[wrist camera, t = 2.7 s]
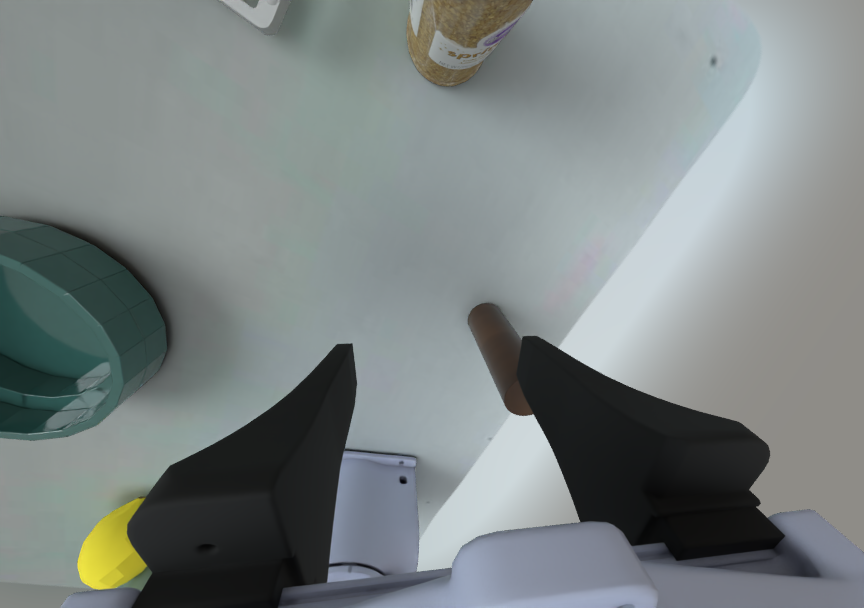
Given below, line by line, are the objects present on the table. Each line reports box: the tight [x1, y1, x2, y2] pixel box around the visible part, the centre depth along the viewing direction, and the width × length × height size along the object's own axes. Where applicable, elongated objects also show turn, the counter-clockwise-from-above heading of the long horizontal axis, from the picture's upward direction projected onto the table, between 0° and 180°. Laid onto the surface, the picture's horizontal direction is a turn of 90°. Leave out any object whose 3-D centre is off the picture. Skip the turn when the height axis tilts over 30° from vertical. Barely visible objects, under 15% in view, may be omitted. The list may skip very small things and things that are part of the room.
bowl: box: [0, 216, 167, 441], centre depth 19 cm, size 13×13×4 cm
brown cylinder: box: [468, 303, 533, 416], centre depth 20 cm, size 3×3×9 cm
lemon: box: [77, 497, 147, 590], centre depth 27 cm, size 7×5×5 cm
